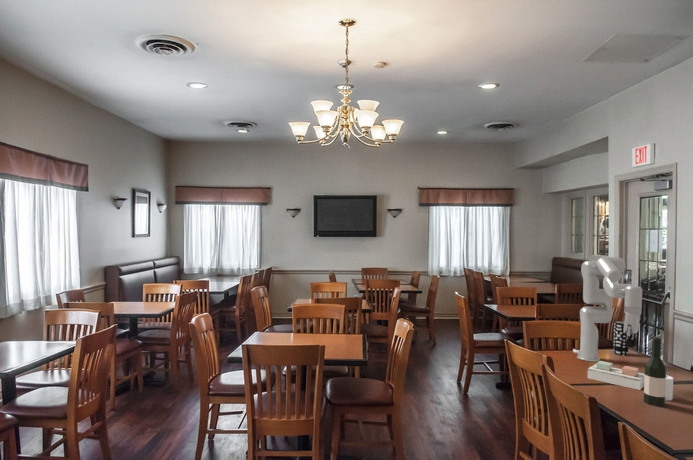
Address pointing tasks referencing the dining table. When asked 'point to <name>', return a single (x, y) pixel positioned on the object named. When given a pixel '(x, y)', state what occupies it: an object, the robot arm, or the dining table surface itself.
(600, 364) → the sage key
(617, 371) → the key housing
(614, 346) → the spotted tube
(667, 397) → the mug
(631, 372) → the terracotta key
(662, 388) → the wine bottle
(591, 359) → the robot arm
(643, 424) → the dining table surface
